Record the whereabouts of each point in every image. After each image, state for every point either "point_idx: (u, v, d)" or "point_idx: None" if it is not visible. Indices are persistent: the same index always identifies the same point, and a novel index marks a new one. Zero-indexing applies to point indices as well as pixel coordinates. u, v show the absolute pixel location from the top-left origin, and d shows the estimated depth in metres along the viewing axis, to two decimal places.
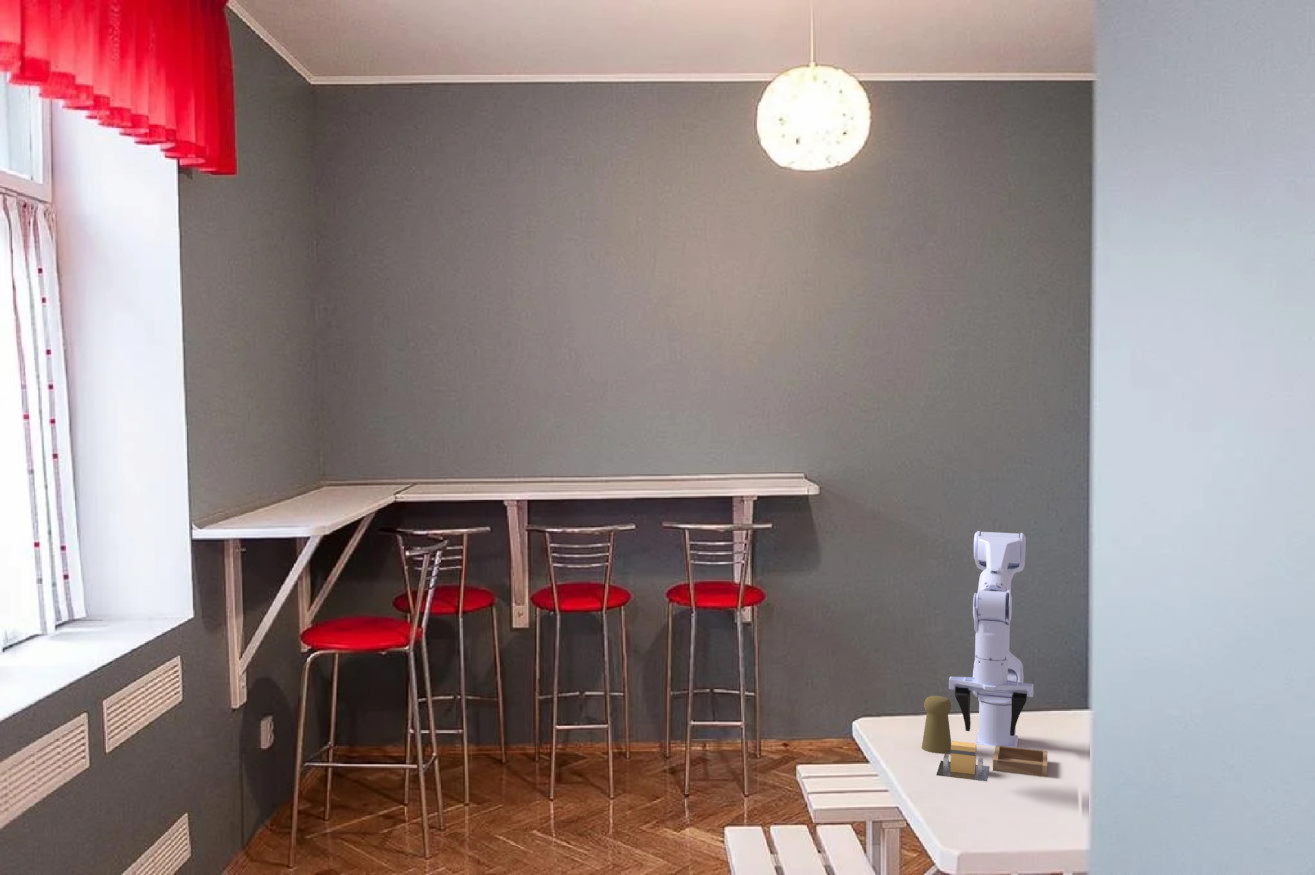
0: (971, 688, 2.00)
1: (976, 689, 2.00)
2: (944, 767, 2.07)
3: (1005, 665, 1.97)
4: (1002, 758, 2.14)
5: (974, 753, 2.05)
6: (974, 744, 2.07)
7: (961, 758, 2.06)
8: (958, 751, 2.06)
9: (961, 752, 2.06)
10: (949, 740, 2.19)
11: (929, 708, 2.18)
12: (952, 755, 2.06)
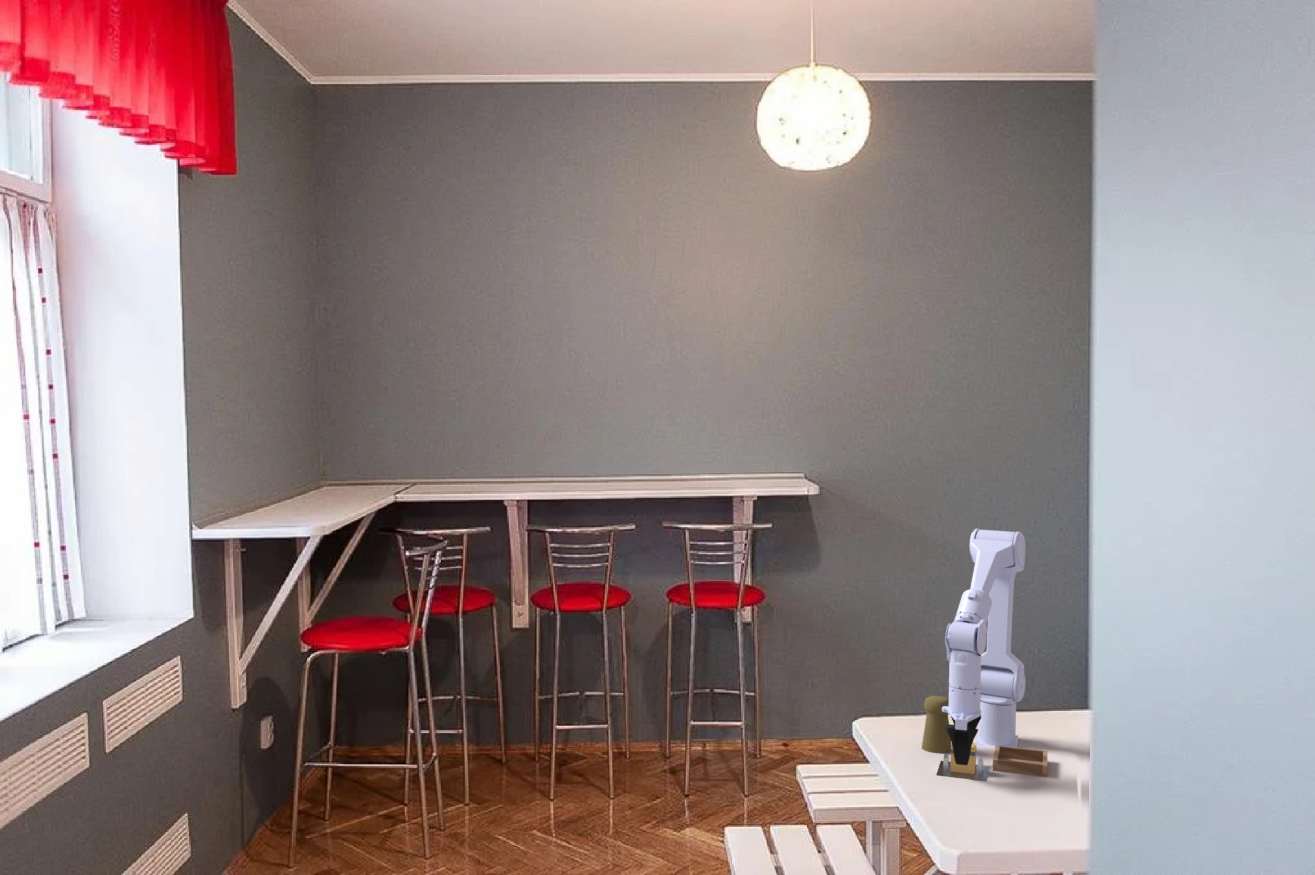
0: None
1: None
2: (944, 767, 2.07)
3: (956, 693, 2.04)
4: (1002, 758, 2.14)
5: (974, 753, 2.05)
6: (974, 744, 2.07)
7: None
8: None
9: None
10: (949, 740, 2.19)
11: (929, 708, 2.18)
12: (952, 755, 2.06)
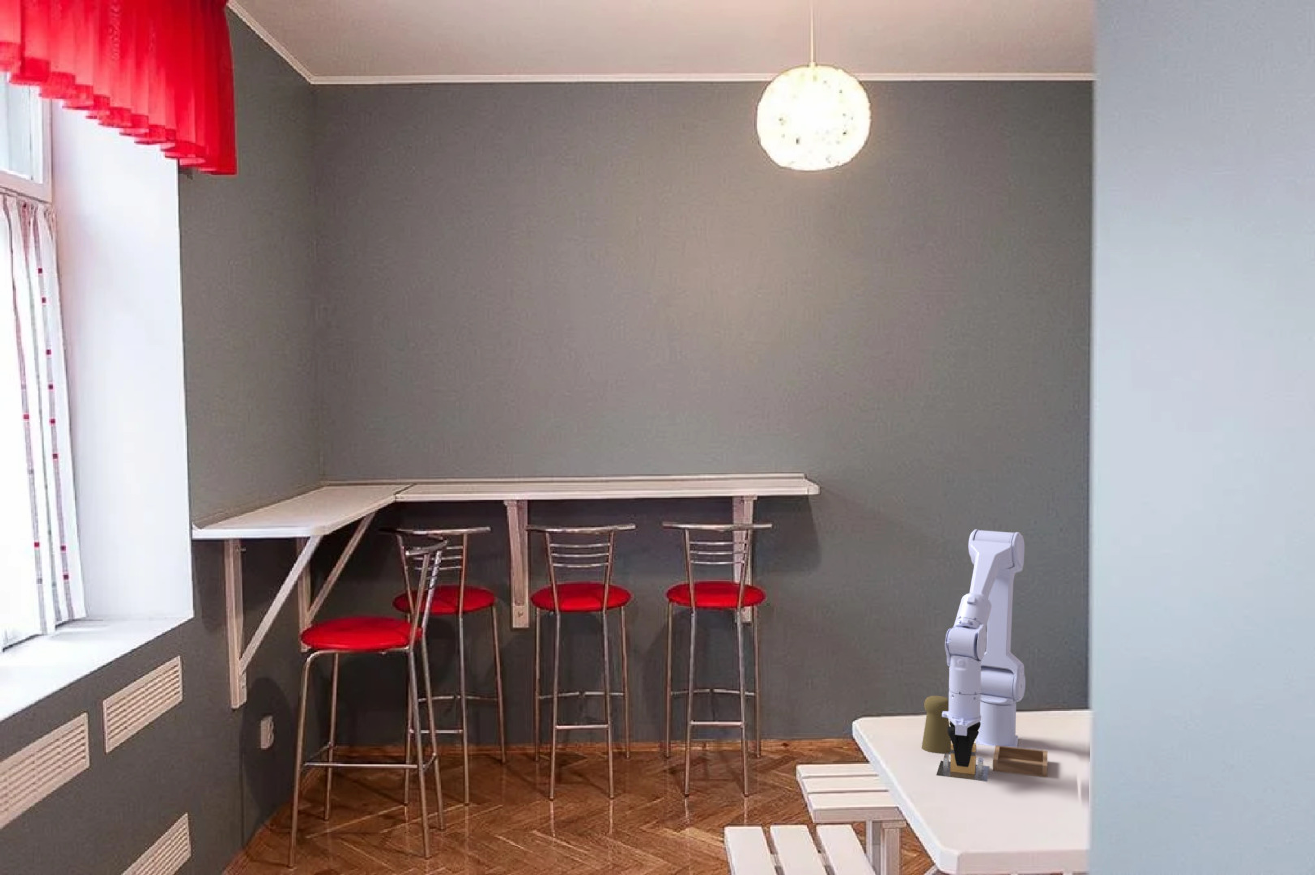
0: None
1: None
2: (944, 767, 2.07)
3: (956, 698, 2.05)
4: (1002, 758, 2.14)
5: (974, 753, 2.05)
6: (974, 744, 2.07)
7: None
8: None
9: None
10: (949, 740, 2.19)
11: (929, 708, 2.18)
12: (952, 755, 2.06)
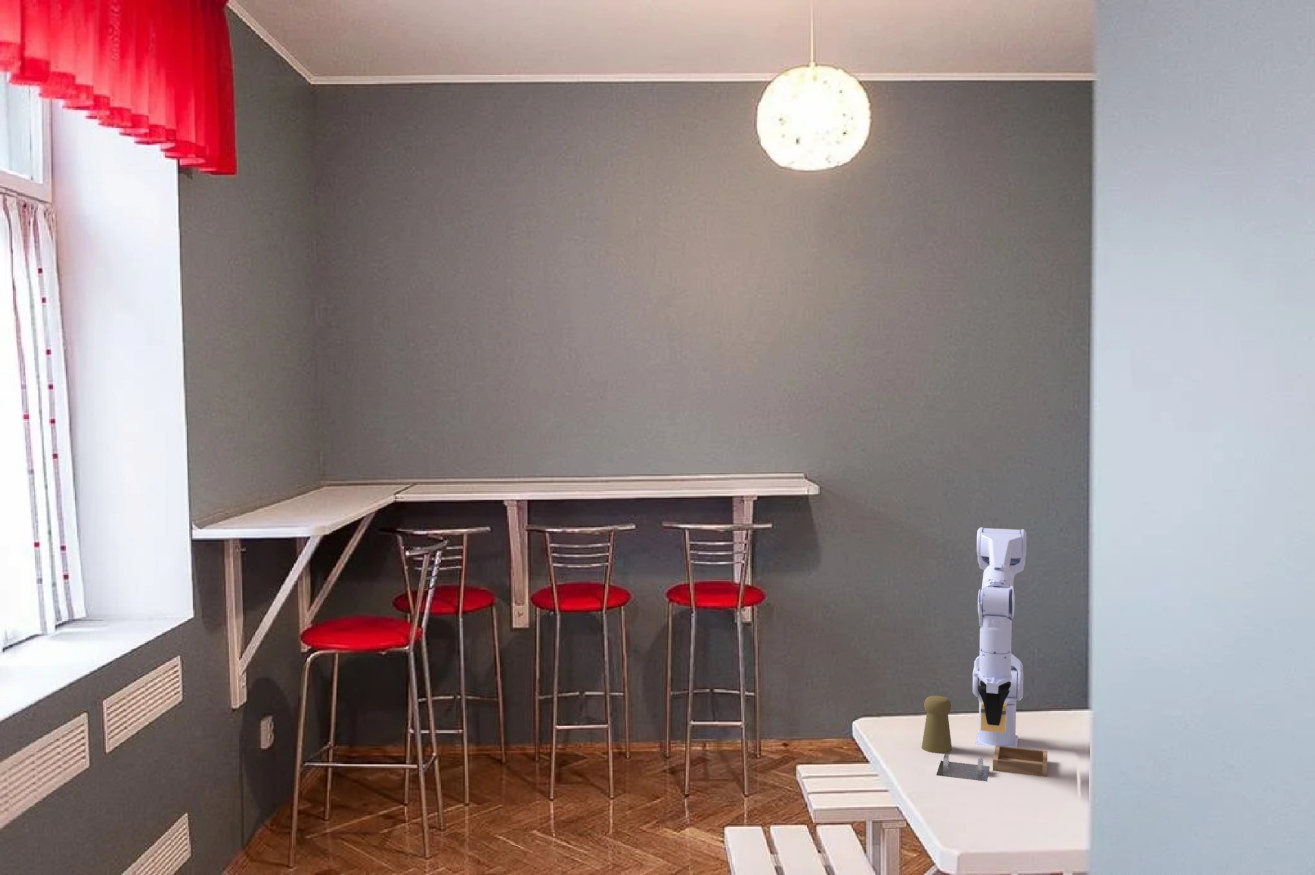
0: None
1: None
2: (944, 767, 2.07)
3: (987, 658, 2.06)
4: (1002, 758, 2.14)
5: (1004, 712, 2.06)
6: (1004, 703, 2.08)
7: None
8: None
9: None
10: (949, 740, 2.19)
11: (929, 708, 2.18)
12: (982, 714, 2.08)
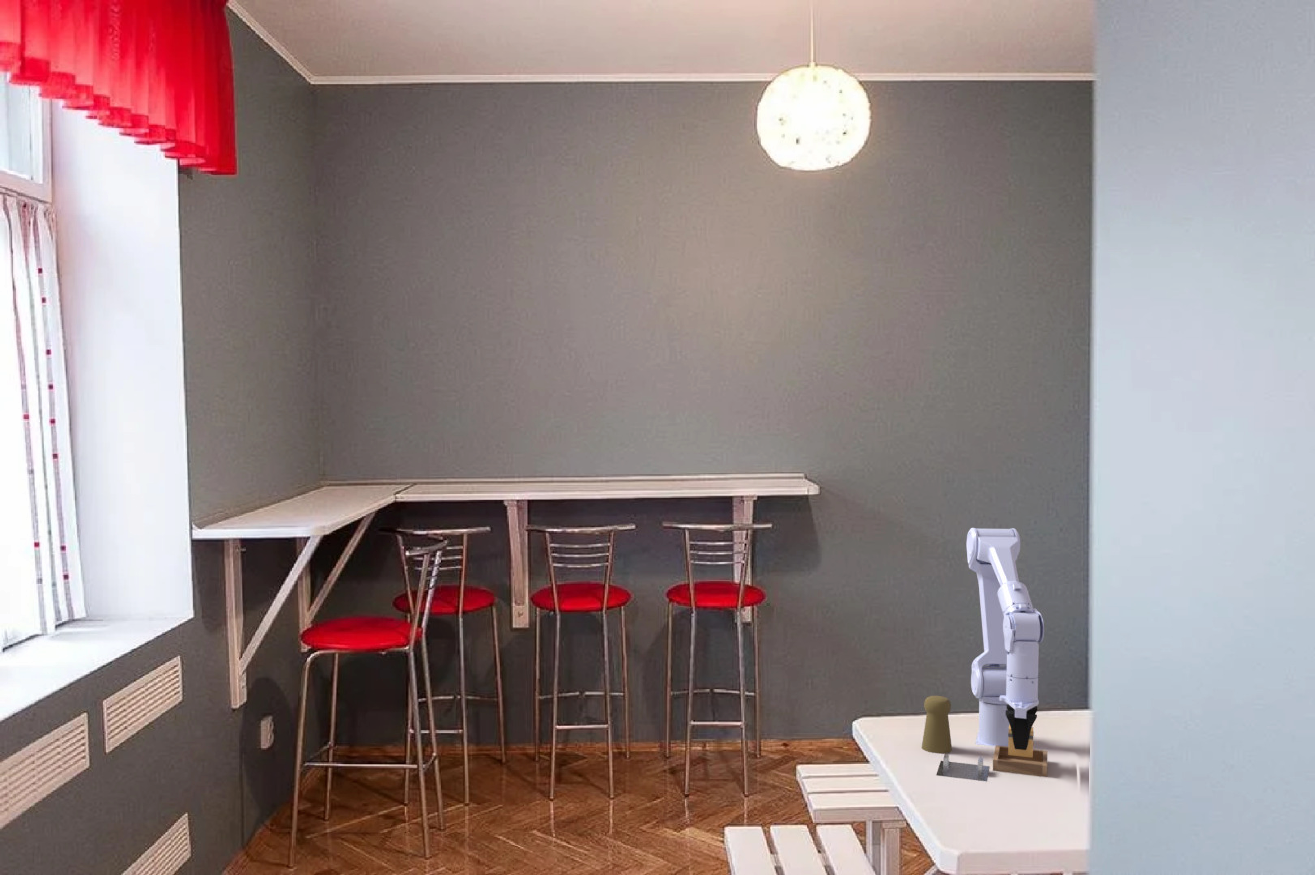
0: None
1: None
2: (944, 767, 2.07)
3: (1014, 682, 2.08)
4: (1002, 758, 2.14)
5: (1032, 736, 2.08)
6: (1031, 728, 2.10)
7: None
8: None
9: None
10: (949, 740, 2.19)
11: (929, 708, 2.18)
12: (1010, 739, 2.09)
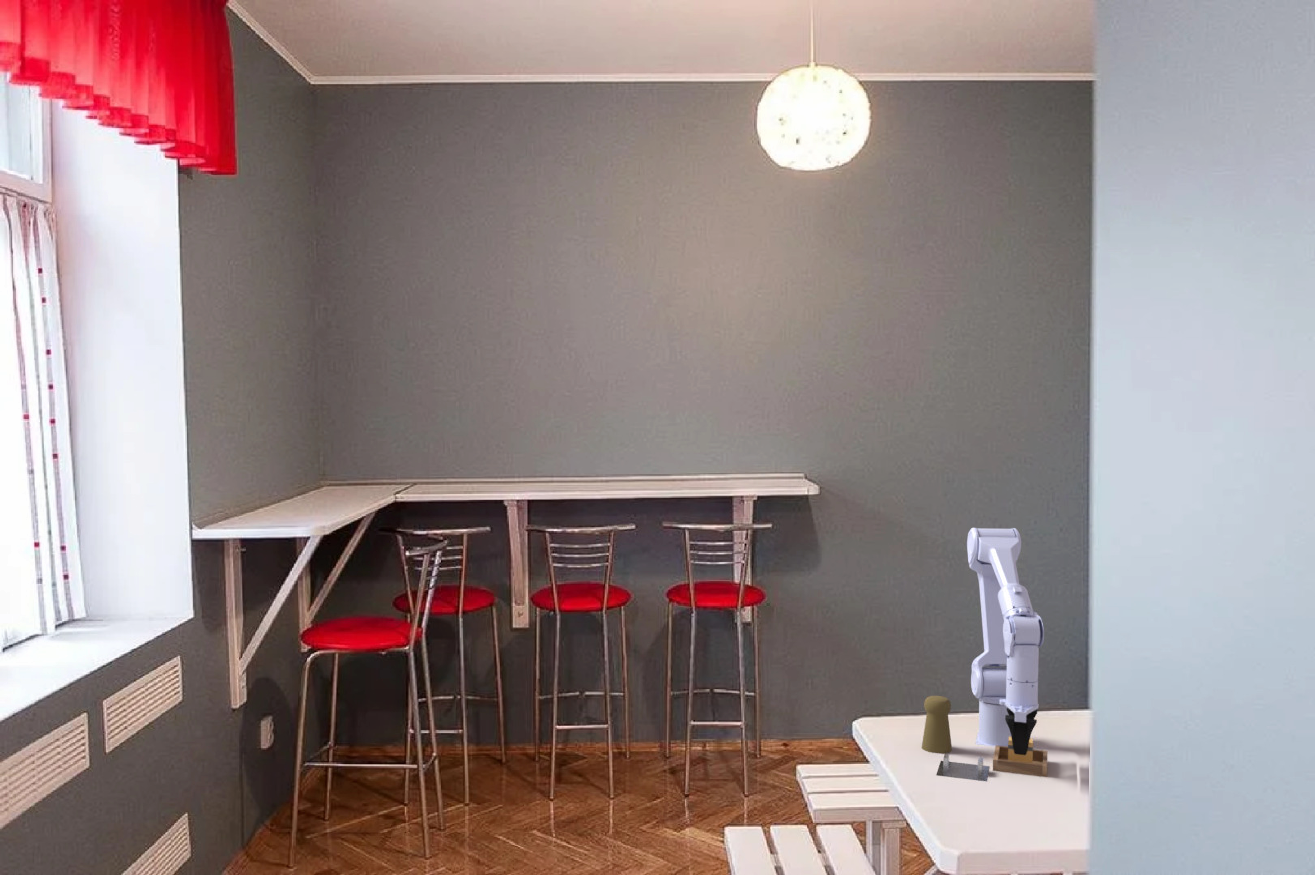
0: None
1: None
2: (944, 767, 2.07)
3: (1014, 686, 2.08)
4: (1002, 758, 2.14)
5: (1031, 748, 2.08)
6: (1031, 739, 2.10)
7: None
8: None
9: None
10: (949, 740, 2.19)
11: (929, 708, 2.18)
12: (1009, 750, 2.09)
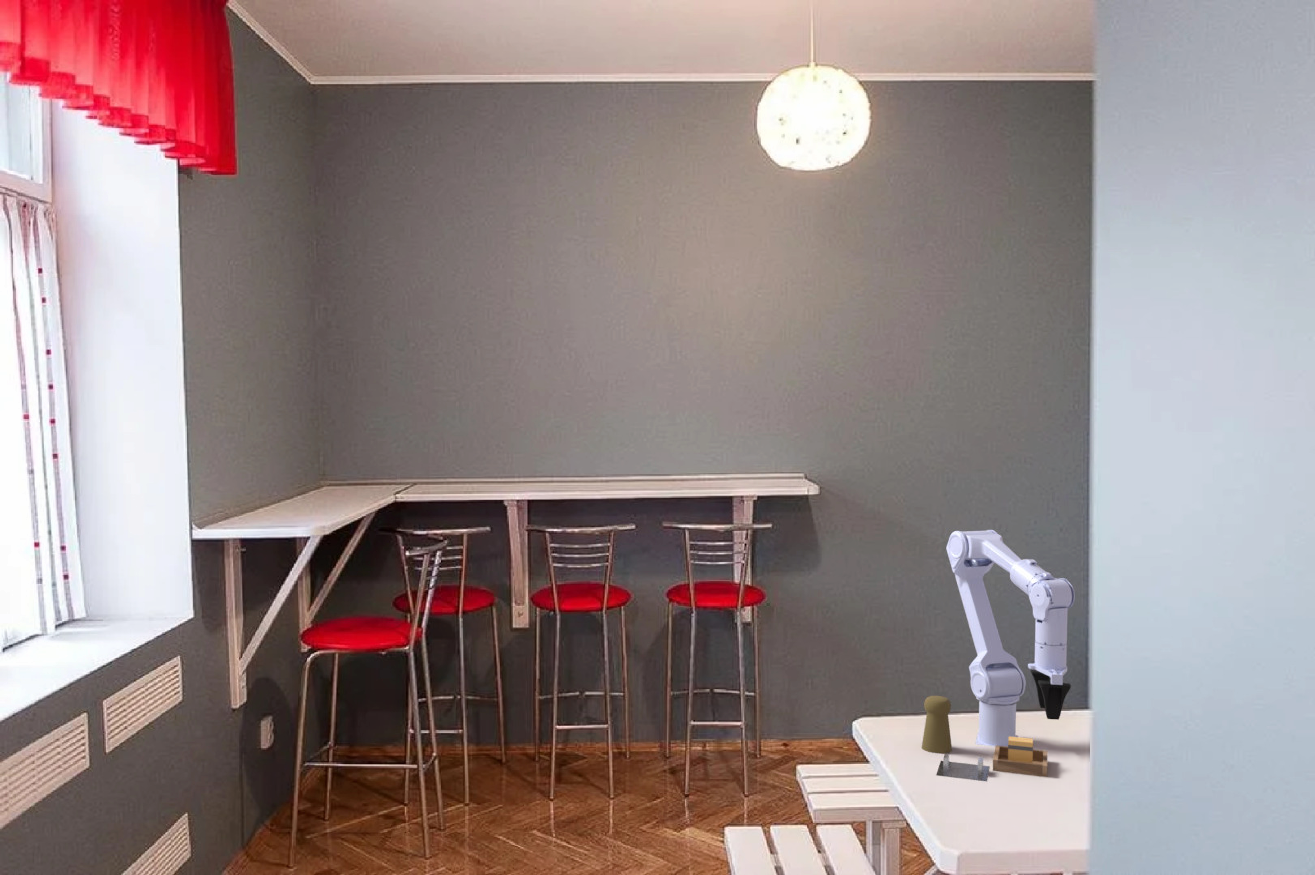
0: None
1: None
2: (944, 767, 2.07)
3: (1045, 650, 2.08)
4: (1002, 758, 2.14)
5: (1031, 748, 2.08)
6: (1031, 739, 2.10)
7: (1018, 753, 2.09)
8: (1016, 746, 2.09)
9: (1019, 748, 2.09)
10: (949, 740, 2.19)
11: (929, 708, 2.18)
12: (1009, 750, 2.09)
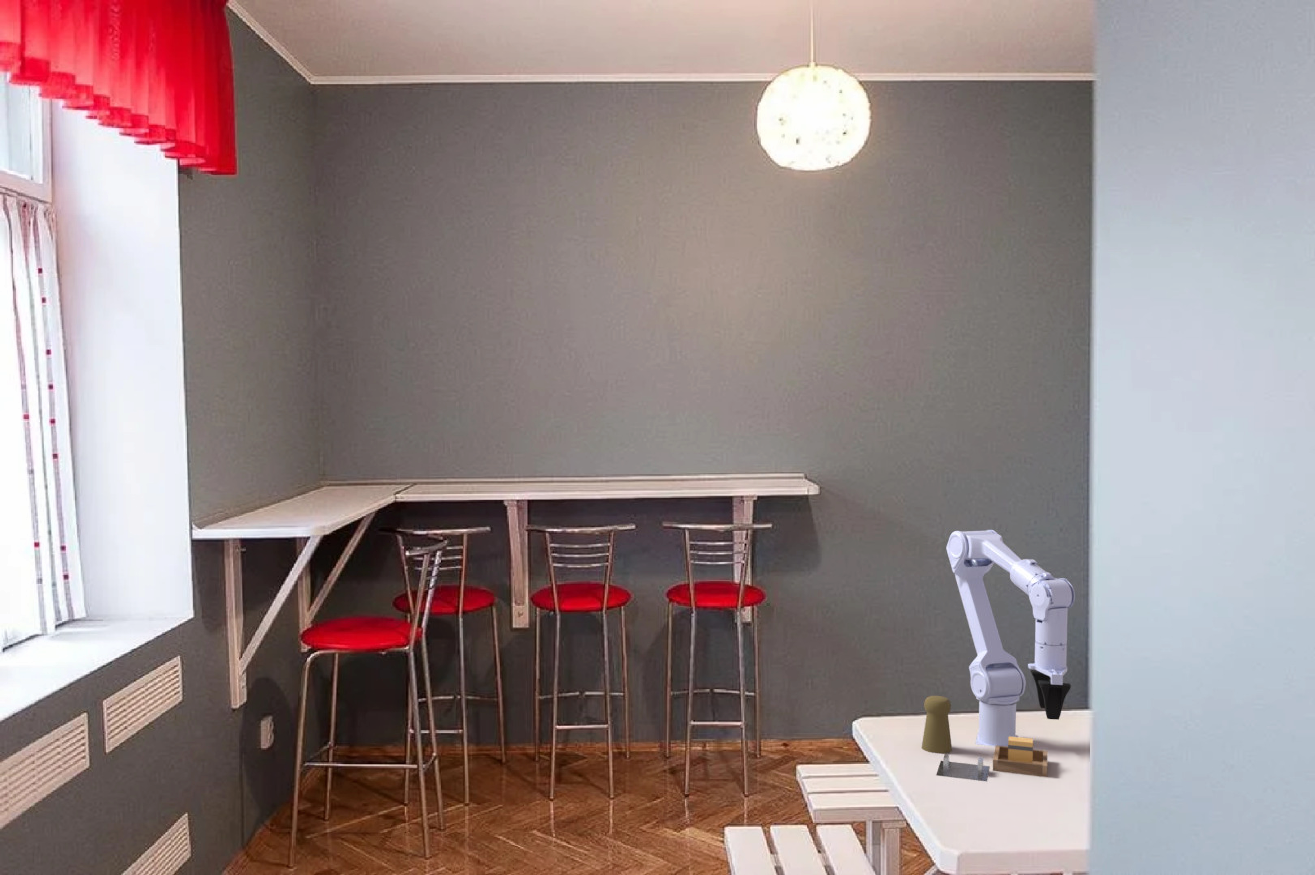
0: None
1: None
2: (944, 767, 2.07)
3: (1045, 650, 2.08)
4: (1002, 758, 2.14)
5: (1031, 748, 2.08)
6: (1031, 739, 2.10)
7: (1018, 753, 2.09)
8: (1016, 746, 2.09)
9: (1019, 748, 2.09)
10: (949, 740, 2.19)
11: (929, 708, 2.18)
12: (1009, 750, 2.09)
